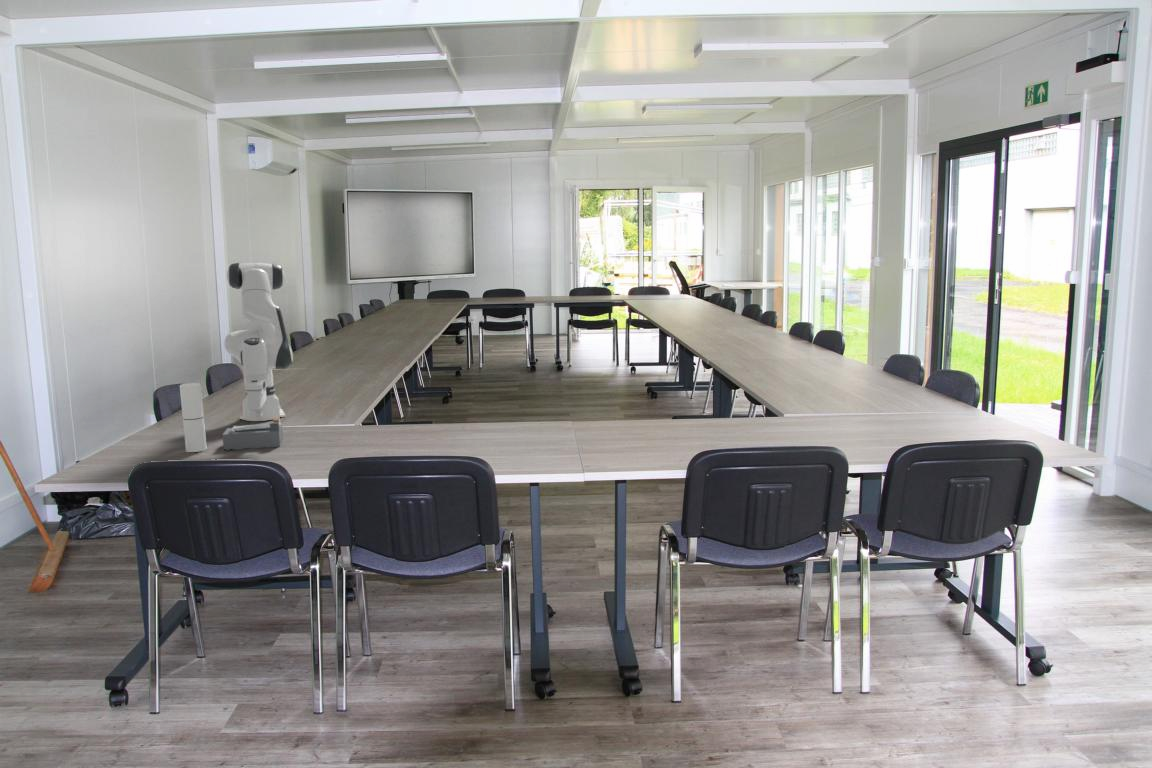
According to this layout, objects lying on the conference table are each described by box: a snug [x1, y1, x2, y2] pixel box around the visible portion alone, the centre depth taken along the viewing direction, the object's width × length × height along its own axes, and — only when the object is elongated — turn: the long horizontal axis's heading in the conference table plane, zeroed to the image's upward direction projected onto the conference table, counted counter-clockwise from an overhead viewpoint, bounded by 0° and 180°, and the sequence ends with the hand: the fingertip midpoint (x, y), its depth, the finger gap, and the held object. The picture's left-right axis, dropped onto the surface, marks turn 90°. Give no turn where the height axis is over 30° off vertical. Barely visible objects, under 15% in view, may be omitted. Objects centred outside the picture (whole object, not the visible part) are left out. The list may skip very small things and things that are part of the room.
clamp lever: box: [231, 418, 282, 431], centre depth 328 cm, size 4×17×3 cm, turn 103°
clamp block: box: [221, 422, 284, 450], centre depth 329 cm, size 11×20×9 cm, turn 103°
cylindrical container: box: [179, 382, 208, 453], centre depth 320 cm, size 7×7×25 cm
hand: (259, 417), depth 329 cm, fingers closed
